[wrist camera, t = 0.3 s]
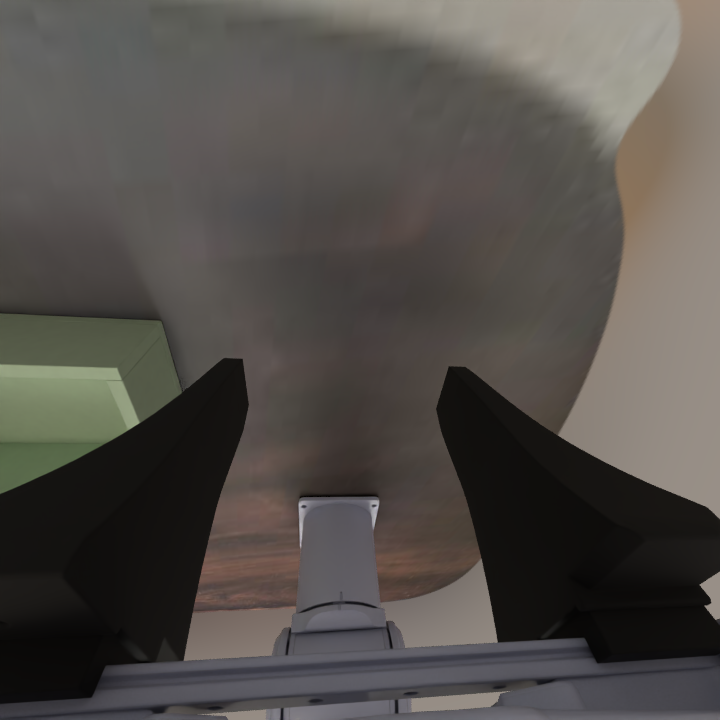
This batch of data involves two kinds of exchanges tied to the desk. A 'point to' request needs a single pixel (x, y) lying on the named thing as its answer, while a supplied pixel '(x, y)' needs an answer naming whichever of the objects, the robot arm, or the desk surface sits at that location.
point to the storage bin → (75, 387)
